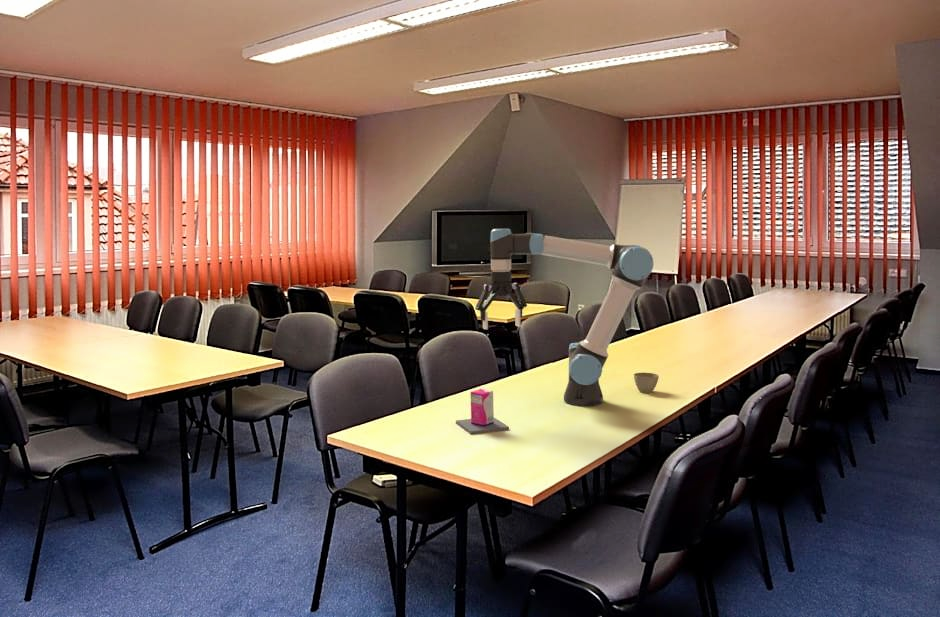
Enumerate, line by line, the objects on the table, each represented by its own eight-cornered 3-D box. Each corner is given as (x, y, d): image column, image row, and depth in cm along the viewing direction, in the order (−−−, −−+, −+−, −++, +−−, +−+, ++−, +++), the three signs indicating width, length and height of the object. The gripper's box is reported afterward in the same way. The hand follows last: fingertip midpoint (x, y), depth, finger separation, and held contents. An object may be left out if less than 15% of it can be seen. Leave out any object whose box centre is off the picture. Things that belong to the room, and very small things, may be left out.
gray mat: (492, 419, 263) (492, 416, 262) (509, 429, 250) (509, 426, 249) (455, 423, 257) (455, 420, 257) (470, 434, 244) (470, 431, 244)
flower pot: (661, 390, 304) (661, 373, 303) (653, 395, 296) (654, 378, 295) (638, 388, 310) (638, 371, 309) (629, 392, 301) (630, 375, 300)
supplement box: (481, 420, 258) (481, 388, 256) (494, 423, 254) (494, 390, 252) (470, 423, 253) (470, 391, 252) (483, 427, 249) (483, 394, 248)
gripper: (526, 268, 280) (526, 323, 283) (466, 271, 270) (467, 328, 273) (535, 269, 273) (536, 326, 276) (474, 273, 263) (475, 331, 266)
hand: (501, 327), depth 274 cm, fingers open, 13 cm apart
